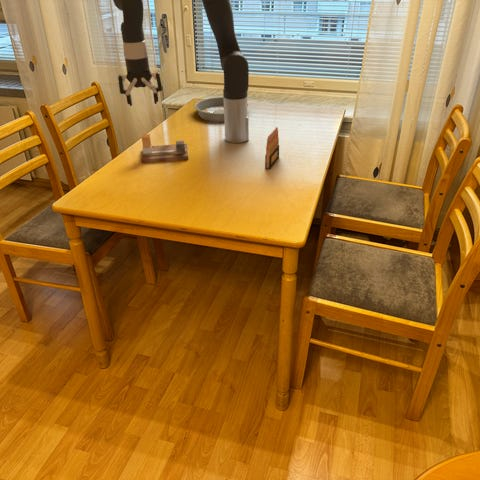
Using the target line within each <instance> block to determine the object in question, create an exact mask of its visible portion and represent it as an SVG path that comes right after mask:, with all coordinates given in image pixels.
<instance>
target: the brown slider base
mask: <svg viewBox="0 0 480 480" xmlns="http://www.w3.org/2000/svg"><path fill="white" fill-rule="evenodd" d="M188 150H189V149H188V143H185V140H177V141H175V144H162V145H160V144H159V145H152V153H147V154H144V152H143V149H142V151H141V164H147V163H149V164H151V163H165V162H166V163H167V162H177V161H189V152H188Z"/></svg>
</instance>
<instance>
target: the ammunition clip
mask: <svg viewBox="0 0 480 480" xmlns="http://www.w3.org/2000/svg"><path fill="white" fill-rule="evenodd" d="M279 139H280V137H279V129H278V127H275V129H274V130H272V132H270V134H269V135H268V136H267V139H266V147H265V149H266V150H265V155H264V156H265V157H264V170H271V169H272V168H273V166H274V165H275V164H276V162H277V161H278V160H279V158H280V145H279V143H280V141H279Z"/></svg>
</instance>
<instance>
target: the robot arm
mask: <svg viewBox="0 0 480 480" xmlns="http://www.w3.org/2000/svg"><path fill="white" fill-rule="evenodd" d="M112 1H113V4H114V6H115V7H116V8H117V9H118V10H120V11H121V12H122V22H121V24H120V31H121V39H122V49H123V56H124V61H125V62H124V63H125V68H126V74H121V73H119V74H118V77H117V78H118V79H117V80H118V87H119V93H120V94H121V95H125V96H126V102H127V105H129V107H132V106H133V101H132V95H131V93H132V90H133V88H136V89H138V88H146V87H147V88H148V89H149V90H151V91H152V92H153V103H154V105H157V104H158V102H159V94H158V93H159V92H162V91H163V84H162V79H161V75H160V71H156V72H151V71H150V62H149V55H148V48H147V44H146V41H145V31H144V25H143V24H144V1H143V0H112ZM201 2H202V5H203V9H204V12H205V16H206V18H207V21H208V24H209V27H210V29H211V32H212V34H213V36H214V39H215V41H216V46H217V50H218V55H219V61H220V66H221V70H222V71H223V90H222V94H223V96H222V97H223V99H224V106H223V110H224V124H223V125H224V140H225V141H226V142H228V143H232V144H238V143H240V144H241V143H244V142H248V141H250V139H249V138H250V137H249V136H250V135H249V134H250V133H249V121H250V120H249V119H250V118H249V114H248V109H249V108H248V107H249V106H248V107H247V103H248V91H249V83H250V81H249V77H250V76H249V75H250V73H249V72H250V71H249V69H250V68H249V62H248V60H247V59H246V58H247V57H245V56H244V54H243V53H242V51H241V48H240V46H239V42H238V40H237V36H236V33H235V22H234V14H233V13H234V12H233V8H232V3H231V0H201ZM152 78H153V79H154V80H155V81H156V82H157V87H156V86H155V85H154V84H153V83H152V82H151V80H152ZM126 80H127V81H128V82H129V85H128V87H127V88H126V89H125V87H124V86H125V85H124V82H125V81H126Z"/></svg>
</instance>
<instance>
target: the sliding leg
mask: <svg viewBox="0 0 480 480" xmlns="http://www.w3.org/2000/svg"><path fill="white" fill-rule="evenodd" d="M141 142H142V150H143V152H144V154H147V153H152V146H153V145H152V140H151V133H150V134H149V133H148V134H147V133H146V134H145V133H144V134H141Z"/></svg>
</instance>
